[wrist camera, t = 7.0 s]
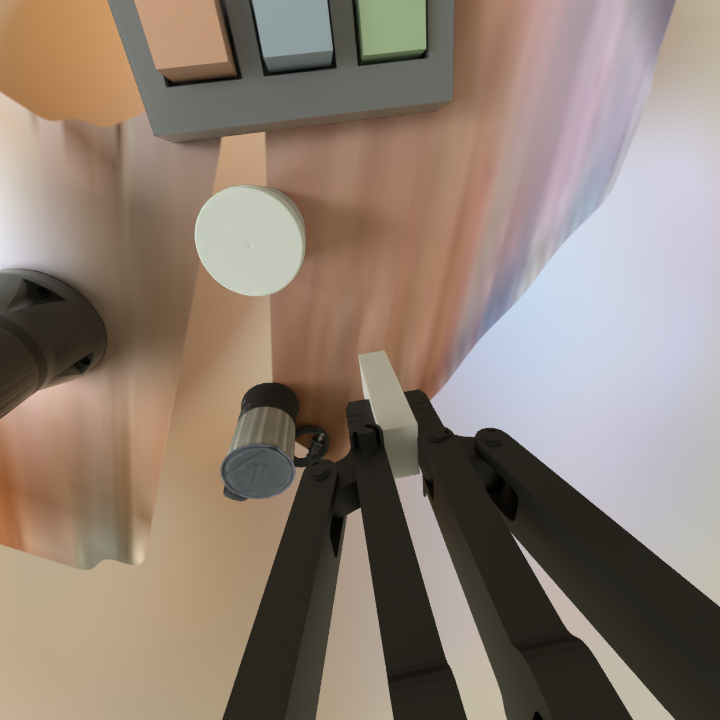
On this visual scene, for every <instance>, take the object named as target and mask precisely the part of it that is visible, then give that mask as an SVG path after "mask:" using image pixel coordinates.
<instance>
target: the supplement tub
mask: <svg viewBox="0 0 720 720" xmlns="http://www.w3.org/2000/svg"><path fill="white" fill-rule="evenodd" d="M195 243H196V248H197V252H198V255H199V257H200V259H201V261H202V263H203V265H204V267H205V268H206V270H207V271H208V272H209V274H210V275H211V276H212V277H213V278H214V279H215V280H216V281H217V282H218V283H220V284H221V285H223V286H224V287H226V288H227V289H229V290H231V291H234V292H236V293H239V294H242V295H247V296H265V295H270V294H273V293H276V292H278V291H280V290H282V289H283V288H285V287H286V286H287V285H288V284H289V283H290V282H291V281H292V280H293V279H294V278H295V276H296V275H297V274H298V272H299V270H300V268H301V266H302V263H303V261H304V256H305V248H306V229H305V223H304V219H303V216H302V214H301V212H300V210H299V208H298V206H297V205H296V204H295V203H294V201H293V200H292V199H291V198H290V197H288V196H287V195H286V194H284V193H283V192H281V191H279V190H277V189H274V188H271V187H264V186H255V185H237V186H232V187H228V188H226V189H224V190H222V191H220V192H218V193H217V194H215V195H214V196H212V197H211V198H210V199H209V200H208V201H207V202H206V203H205V204H204V206H203V207H202V209H201V211H200V213H199V215H198V218H197V221H196V225H195Z"/></svg>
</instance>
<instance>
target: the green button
mask: <svg viewBox="0 0 720 720" xmlns="http://www.w3.org/2000/svg"><path fill="white" fill-rule="evenodd" d="M352 7H353V18H354V29H355V40H356V51H357V62H358V66H364V65H373V64H382V63H390V62H399V61H408V60H417V59H418V58H419V57H420V56H421V54H422V53H423V52H424V51H425V50H426V0H352Z"/></svg>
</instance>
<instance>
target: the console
mask: <svg viewBox="0 0 720 720" xmlns="http://www.w3.org/2000/svg"><path fill="white" fill-rule="evenodd" d="M220 1H221V5H222V10H223V14H224V18H225V23H226V27H227V31H228V36H229V40H230V45H231V49H232V53H233V58H234V62H235V66H236V71H237V75H238V76H234V77H225V78H216V79H207V80H198V81H189V82H180V83H173V82H172V81H171V80H169V79H168V78H167V77H165V76H164V75H163V74H162V73H160V72H159V71H158V70H156V67H155V64H154V61H153V58H152V55H151V52H150V48H149V45H148V42H147V39H146V36H145V33H144V30H143V27H142V23H141V20H140V17H139V14H138V11H137V8H136V5H135V2H134V0H108V3H109V6H110V9H111V11H112V14H113V17H114V20H115V23H116V26H117V29H118V32H119V35H120V38H121V40H122V43H123V46H124V49H125V52H126V55H127V58H128V60H129V64H130V66H131V69H132V72H133V75H134V78H135V81H136V83H137V86H138V89H139V92H140V95H141V98H142V101H143V104H144V107H145V110H146V112H147V115H148V118H149V121H150V124H151V127H152V130H153V133H154V135H155V136H156V137H159V138H162V139H165V140H168V141H171V142H173V143H175V142H183V141H192V140H200V139H208V138H216V137H224V136H233V135H241V134H249V133H257V132H266V131H274V130H282V129H290V128H298V127H307V126H315V125H323V124H331V123H339V122H348V121H356V120H364V119H372V118H381V117H389V116H397V115H405V114H413V113H422V112H430V111H437V110H438V109H440V108H441V107H443V106H445V105H446V104H448V103H449V102H451V101H452V100H453V55H454V0H426V50H425V51H424V52H423V53H422V54H421V56H420V57H419V58H418V59H417V60H408V61H399V62H390V63H382V64H373V65H364V66H358V62H357V51H356V40H355V29H354V18H353V7H352V0H327V4H328V12H329V21H330V29H331V38H332V46H333V53H332V60H331V66H324V67H315V68H306V69H297V70H288V71H279V72H270V73H269V71H268V68H267V66H266V63H265V60H264V57H263V52H262V47H261V42H260V37H259V32H258V27H257V21H256V16H255V11H254V6H253V1H252V0H220Z"/></svg>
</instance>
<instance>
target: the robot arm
mask: <svg viewBox="0 0 720 720" xmlns="http://www.w3.org/2000/svg"><path fill="white" fill-rule="evenodd" d="M106 342H107V339H106V332H105V328H104V325H103V322H102V320H101V318H100V316H99V315H98V313H97V312H96V310H95V309H94V307H93V306H92V305H91V304H90V303H89V302H88V301H87V300H86V299H85V298H84V297H83V296H82V295H81V294H80V293H79V292H77V291H76V290H75V289H73V288H72V287H70V286H69V285H67V284H66V283H64V282H62V281H60V280H58V279H56V278H54V277H51V276H49V275H46V274H43V273H40V272H36V271H31V270H25V269H6V270H0V419H1V418H2V417H3V416H5V415H6V414H7V413H9V412H10V411H11V410H13V409H14V408H15V407H17V406H18V405H19V404H20V403H22V402H23V401H24V400H26V399H27V398H28V397H29V396H31V395H32V394H34V393H35V392H36V391H38V390H42V389H45V388H48V387H52V386H55V385H58V384H62V383H65V382H68V381H71V380H74V379H76V378H78V377H80V376H82V375H84V374H85V373H86V372H88V371H89V370H90V369H91V368H93V367H94V366H95V365H96V364H97V363H98V362H99V361H100V360H101V358H102V357H103V355H104V352H105V349H106ZM358 356H359V364H360V371H361V378H362V386H363V393H364V398H365V400H359V401H354V402H349V403H348V406H347V408H346V414H347V421H348V427H349V434H350V436H349V437H350V443H351V449H350V452H349V453H348V454H347V455H346V456H345V457H344V458H343V459H341V460H339V461H337V462H335V463H334V462H332V461H331V460H327V459H320V460H316V461H314V462H312V463H310V464H309V465H308V466H307V467H306V468H305V470H304V472H303V474H302V478H301V480H300V484H299V487H298V490H297V493H296V496H295V499H294V502H293V505H292V508H291V511H290V514H289V517H288V520H287V523H286V526H285V529H284V533H283V536H282V539H281V542H280V545H279V548H278V551H277V554H276V557H275V560H274V563H273V566H272V569H271V572H270V575H269V579H268V581H267V585H266V588H265V591H264V594H263V597H262V600H261V603H260V606H259V609H258V612H257V615H256V618H255V621H254V624H253V628H252V630H251V633H250V637H249V640H248V643H247V646H246V649H245V652H244V655H243V658H242V661H241V664H240V667H239V670H238V674H237V676H236V679H235V682H234V685H233V689H232V692H231V695H230V698H229V701H228V704H227V707H226V710H225V713H224V716H223V719H222V720H315V719H316V712H317V705H318V699H319V693H320V686H321V680H322V674H323V667H324V661H325V654H326V648H327V641H328V635H329V628H330V622H331V615H332V609H333V603H334V596H335V590H336V583H337V577H338V571H339V564H340V558H341V551H342V545H343V538H344V532H345V525H346V518H347V515H348V514H349V513H351V512H353V511H355V510H357V509H359V508H361V512H362V518H363V525H364V530H365V537H366V543H367V550H368V556H369V563H370V569H371V575H372V581H373V588H374V595H375V601H376V607H377V614H378V620H379V627H380V633H381V639H382V646H383V652H384V658H385V665H386V671H387V678H388V686H389V692H390V699H391V705H392V711H393V717H394V720H467V718H466V714H465V711H464V707H463V704H462V700H461V698H460V694H459V690H458V687H457V684H456V681H455V678H454V676H453V673H452V670H451V668H450V666H449V665H448V663H447V660H446V658H445V654H444V651H443V648H442V644H441V641H440V637H439V634H438V631H437V627H436V623H435V620H434V617H433V613H432V610H431V606H430V603H429V599H428V596H427V592H426V589H425V585H424V582H423V579H422V575H421V571H420V568H419V564H418V561H417V557H416V554H415V550H414V547H413V543H412V540H411V537H410V533H409V530H408V526H407V522H406V519H405V515H404V512H403V509H402V505H401V502H400V499H399V495H398V491H397V488H396V484H395V481H394V479H395V478H400V477H406V476H411V475H416V474H420V470H419V466H420V469H421V471H422V474H423V494H424V497H425V496H426V493H427V495H428V498H429V501H430V503H431V506H432V509H433V511H434V513H435V517H436V519H437V522H438V525H439V527H440V530H441V532H442V535H443V538H444V541H445V543H446V546H447V549H448V551H449V554H450V557H451V559H452V562H453V564H454V567H455V570H456V573H457V575H458V578H459V581H460V583H461V586H462V589H463V591H464V594H465V597H466V599H467V602H468V604H469V607H470V610H471V613H472V615H473V618H474V621H475V623H476V626H477V629H478V631H479V634H480V637H481V639H482V642H483V645H484V647H485V650H486V653H487V655H488V658H489V661H490V663H491V666H492V669H493V671H494V674H495V677H496V679H497V682H498V685H499V688H500V691H501V695H502V699H503V704H504V709H505V714H506V717H507V720H633V719H632V717H631V716H630V714H629V712H628V711H627V709H626V707H625V706H624V704H623V702H622V701H621V699H620V698H619V696H618V694H617V692H616V691H615V689H614V688H613V686H612V684H611V683H610V681H609V679H608V678H607V676H606V674H605V673H604V671H603V669H602V668H601V666H600V664H599V663H598V661H597V659H596V658H595V656H594V655H593V653H592V652H591V651H590V649H589V648H588V647H587V646H586V644H585V643H584V642H583V641H582V640H580V639H579V638H577V637H575V636H573V635H571V633H570V632H569V631H568V630H567V629H566V627H565V626H564V624H563V623H562V621H561V619H560V617H559V616H558V614H557V612H556V610H555V609H554V607H553V605H552V603H551V602H550V600H549V598H548V597H547V595H546V593H545V591H544V590H543V588H542V586H541V584H540V583H539V581H538V579H537V577H536V576H535V574H534V572H533V571H532V569H531V567H530V565H529V564H528V562H527V560H526V558H525V557H524V555H523V553H522V551H521V550H520V548H519V546H518V545H517V543H516V541H515V539H514V538H513V536H512V534H513V535H514V536H515V537H516V539H517V540H518V541H519V542H520V543H521V544H522V545H523V547H524V548H525V549H526V550H527V551H528V552H529V553H530V555H531V556H532V557H533V558H534V559H535V560H536V561H537V563H538V564H539V565H540V566H541V567H542V568H543V569H544V571H546V573H547V574H548V575H549V576H550V577H551V579H552V580H553V581H554V582H555V583H556V584H557V585H558V587H559V588H560V589H561V590H562V591H563V592H564V593H565V595H566V596H567V597H568V598H569V599H570V600H571V601H572V603H573V604H574V605H575V606H576V607H577V608H578V609H579V611H580V612H581V613H582V614H583V615H584V616H585V617H586V619H587V620H588V621H589V622H590V623H591V624H592V625H593V627H594V628H595V629H596V630H597V631H598V632H599V633H600V634H601V636H602V637H603V638H604V639H605V640H606V641H607V642H608V644H609V645H610V646H611V647H612V648H613V649H614V651H615V652H616V653H617V654H618V655H619V656H620V657H621V659H622V660H623V661H624V662H625V663H626V664H627V665H628V667H629V668H630V669H631V670H632V671H633V672H634V673H635V675H636V676H637V677H638V678H639V679H640V680H641V681H642V683H643V684H644V685H645V686H646V687H647V688H648V689H649V691H650V692H651V693H652V694H653V695H654V696H655V697H656V699H657V700H658V701H659V702H660V703H661V704H662V705H663V707H664V708H665V709H666V710H667V711H668V712H669V713H670V714H671V715H672V716H673V718H674V719H675V720H720V607H719V606H718V605H717V604H716V603H714V602H713V601H712V600H711V599H709V598H708V597H707V596H706V595H705V594H703V593H702V592H701V591H699V590H698V589H697V588H696V587H695V586H693V585H692V584H691V583H690V582H689V581H687V580H686V579H685V578H684V577H682V576H681V575H680V574H679V573H677V572H676V571H675V570H674V569H672V568H671V567H670V566H669V565H668V564H666V563H665V562H664V561H663V560H661V559H660V558H659V557H658V556H657V555H655V554H654V553H653V552H652V551H650V550H649V549H648V548H647V547H646V546H644V545H643V544H642V543H641V542H639V541H638V540H637V539H636V538H634V537H633V536H632V535H631V534H629V533H628V532H627V531H626V530H624V529H623V528H622V527H621V526H620V525H618V524H617V523H616V522H615V521H614V520H612V519H611V518H610V517H609V516H607V515H606V514H605V513H604V512H602V511H601V510H600V509H599V508H597V507H596V506H595V505H594V504H593V503H591V502H590V501H589V500H588V499H587V498H585V497H584V496H583V495H582V494H580V493H579V492H578V491H577V490H575V489H574V488H573V487H572V486H571V485H569V484H568V483H567V482H566V481H564V480H563V479H562V478H561V477H560V476H558V475H557V474H556V473H555V472H553V471H552V470H551V469H550V468H548V467H547V466H546V465H545V464H544V463H542V462H541V461H540V460H539V459H537V458H536V457H535V456H534V455H532V454H531V453H530V452H529V451H528V450H526V449H525V448H524V447H523V446H521V445H520V444H519V443H518V442H517V441H515V440H514V439H513V438H512V437H510V436H509V435H508V434H507V433H505V432H503V431H502V430H499V429H495V428H485V429H481V430H480V431H478V432H477V433H476V435H475V437H463V436H458V435H454V433H453V432H452V431H451V430H450V429H448V428H446V427H444V426H443V424H442V422H441V420H440V419H439V417H438V415H437V413H436V411H435V410H434V408H433V406H432V404H431V402H430V401H429V399H428V397H427V395H426V394H425V393H423V392H422V391H420V390H413V391H407V392H403V391H402V388H401V386H400V384H399V382H398V380H397V377H396V375H395V373H394V371H393V368H392V366H391V364H390V362H389V360H388V357H387V355H386V353H385V351H378V352H372V353H366V354H360V355H358ZM511 533H512V534H511Z"/></svg>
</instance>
